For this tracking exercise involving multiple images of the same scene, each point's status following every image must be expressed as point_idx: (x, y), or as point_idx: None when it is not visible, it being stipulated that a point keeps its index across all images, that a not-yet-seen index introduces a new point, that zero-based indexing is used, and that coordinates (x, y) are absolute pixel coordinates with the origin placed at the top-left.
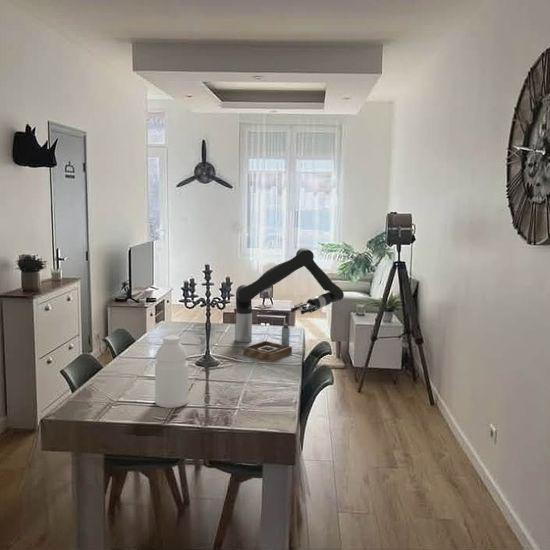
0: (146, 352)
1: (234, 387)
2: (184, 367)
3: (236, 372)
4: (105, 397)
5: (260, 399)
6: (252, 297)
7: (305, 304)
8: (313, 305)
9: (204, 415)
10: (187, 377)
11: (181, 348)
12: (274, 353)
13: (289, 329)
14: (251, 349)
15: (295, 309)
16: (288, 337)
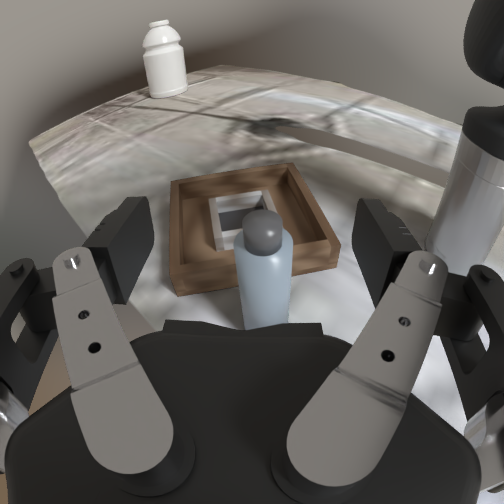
0: (392, 110)
1: (136, 126)
2: (143, 55)
3: (183, 138)
4: (232, 74)
5: (81, 137)
6: (477, 51)
7: (301, 418)
8: (6, 476)
9: (116, 104)
10: (147, 69)
11: (146, 35)
12: (171, 195)
13: (239, 263)
14: (256, 167)
15: (374, 271)
16: (239, 290)
